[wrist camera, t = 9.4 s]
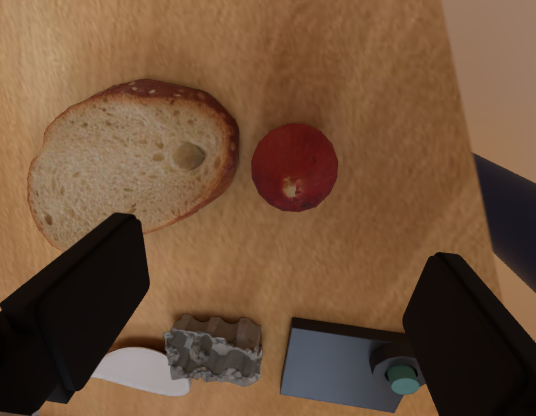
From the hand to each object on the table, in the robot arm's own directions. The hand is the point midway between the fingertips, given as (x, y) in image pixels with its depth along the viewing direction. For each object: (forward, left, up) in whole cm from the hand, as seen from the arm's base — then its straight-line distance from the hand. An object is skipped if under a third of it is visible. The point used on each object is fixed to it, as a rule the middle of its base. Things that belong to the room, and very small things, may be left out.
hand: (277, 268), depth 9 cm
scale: (-9, +24, -15) cm, 30 cm away
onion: (0, 0, -15) cm, 15 cm away
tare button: (-14, +21, -12) cm, 28 cm away
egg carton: (+6, +23, -15) cm, 28 cm away
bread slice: (+14, +4, -15) cm, 21 cm away
